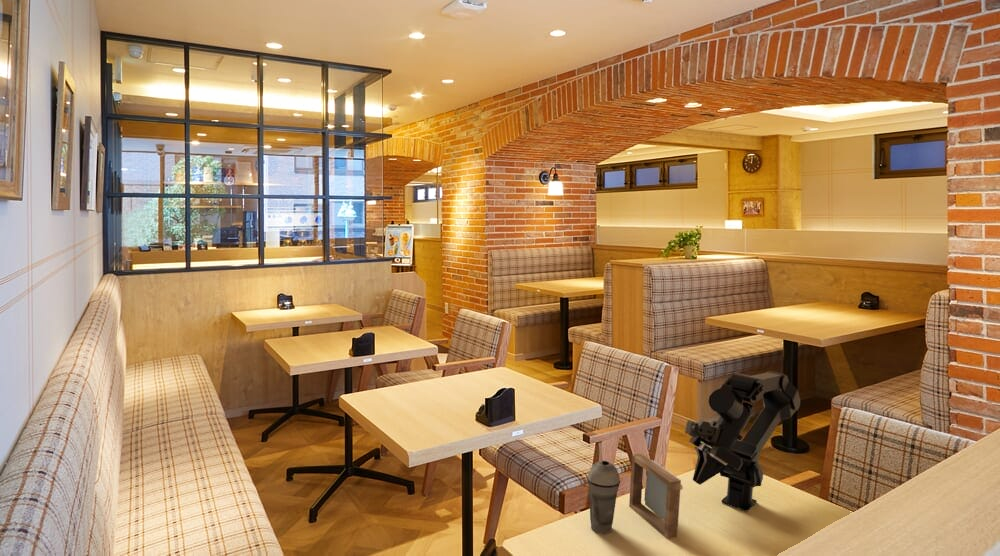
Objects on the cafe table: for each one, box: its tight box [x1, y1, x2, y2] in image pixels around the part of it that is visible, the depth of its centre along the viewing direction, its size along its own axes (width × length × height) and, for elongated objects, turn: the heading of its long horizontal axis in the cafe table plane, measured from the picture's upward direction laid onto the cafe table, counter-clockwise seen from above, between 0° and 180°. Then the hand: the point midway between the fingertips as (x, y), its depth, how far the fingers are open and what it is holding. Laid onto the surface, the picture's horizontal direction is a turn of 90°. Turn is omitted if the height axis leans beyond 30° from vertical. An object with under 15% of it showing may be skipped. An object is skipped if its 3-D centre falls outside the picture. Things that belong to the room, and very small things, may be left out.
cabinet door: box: [644, 459, 683, 528], centre depth 139 cm, size 2×12×11 cm, turn 21°
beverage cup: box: [586, 441, 621, 535], centre depth 134 cm, size 7×7×20 cm
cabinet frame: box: [628, 453, 681, 540], centre depth 139 cm, size 2×15×13 cm, turn 21°
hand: (696, 482), depth 141 cm, fingers closed
